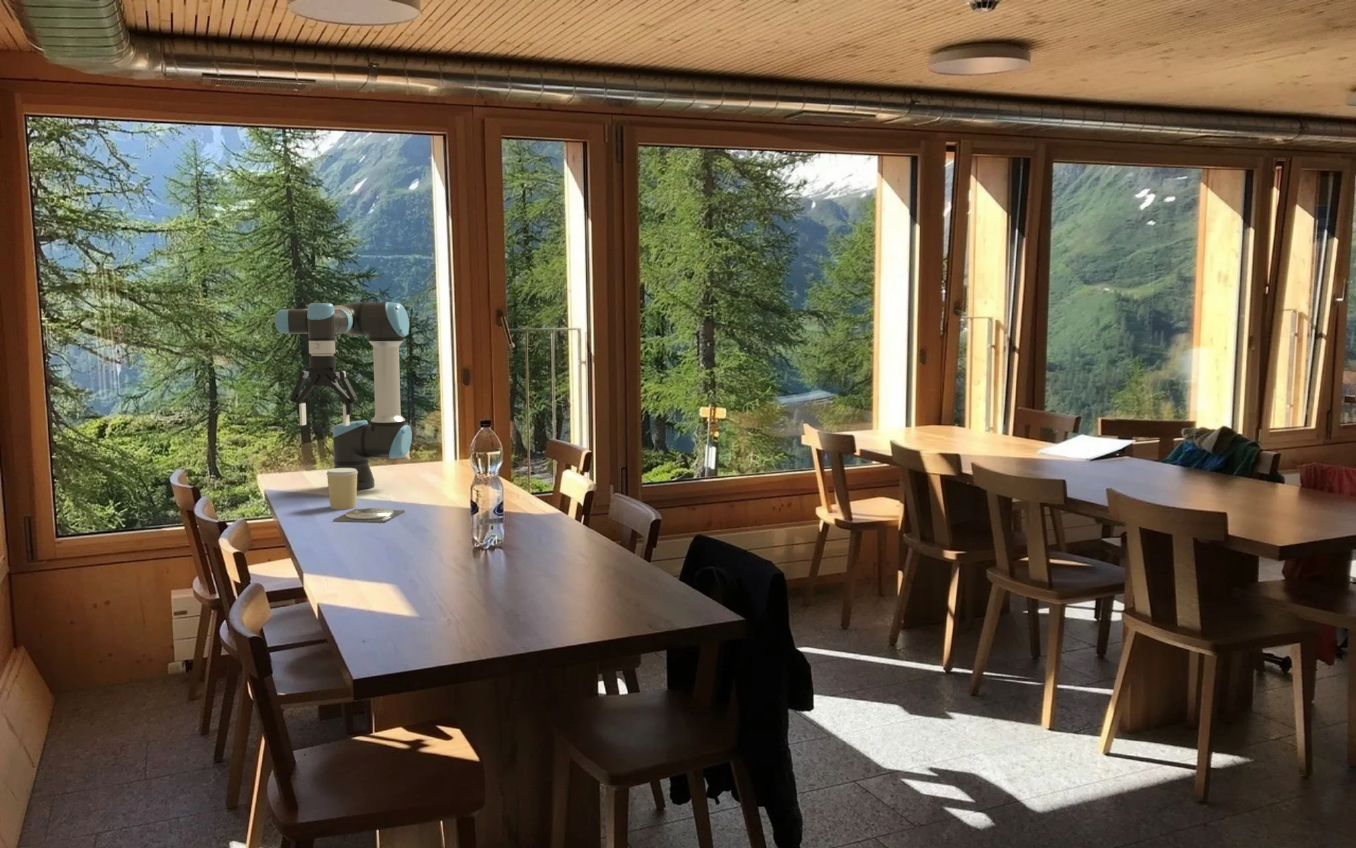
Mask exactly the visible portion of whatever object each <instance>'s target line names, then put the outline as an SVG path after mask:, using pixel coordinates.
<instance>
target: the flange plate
mask: <svg viewBox="0 0 1356 848" xmlns="http://www.w3.org/2000/svg"><path fill="white" fill-rule="evenodd" d="M405 511H406V510H403V509H399V510H398V509H390V508H383V507H381V508H380V507H371V508H370V507H369V508H367V507H366V508H358V509H357V508H355V509H354V508H353V510H350V511H347V512H345V513H344V514H342V515H339V516H337V517H336V518H334V519H332V522H346V523H347V522H348V523H349V522H351V523H379V524H381V523H384V524H385V523H387V522H389V521H391V520H392V519H394V518H396V517H398V516H400V515H402V514H404V513H405Z"/></svg>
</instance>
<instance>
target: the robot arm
mask: <svg viewBox="0 0 1356 848" xmlns="http://www.w3.org/2000/svg"><path fill="white" fill-rule="evenodd" d="M274 326H275V328H276V330H277V332H278V333H280V334H283V335H285V334H287V335H300V334H301V335H303V334H304V335H305V334H306V335H307V334H308V353H309V354H310V356H309V357H308V362H309V364H308V365H309V371H307V370H300V371H299V373H298V379H297V382H296V384H295V387H294V388H293V391H292V393H291V395H290V397H289V401H290V402H293V403H295V405H296V414H297V415H299V426H301V427H302V426H306V425H307V404H306V402H305V400H306V399H307V397H308V396H309V395H310V393H312V391H313V390H314V389H315V388H316V386H317V387H322V386H323V387H330V388H332V389H333V390H334V391H335V393H336V394H337V395H338V396H339V397H340V399H341V400H342V401H343V403H344V404H342V417H343V419H342V422H341V423H338V424H335V425H334V426H333V428H332V430H333V431H332V432H333V433H332V443H333V445H332V447H333V469H335V468H355V469H356V470H357V471H358V473H357V491H361V490H368V489H371V488H375V484H376V483H375V478H374V476H373V473H372V470H371V467H370V463H369V462H370V461H369V459H390V460H392V459H402V458H404V457H406V455H408V453H409V451H410V449H411V446H412V445H411V444H412V441H413V440H412V439H413V432H412V428H411V426H410V425H408V424H406V419H405V417H403V416H402V411H401V383H400V382H401V378H400V377H401V375H400V374H401V373H400V372H401V371H400V346H401V344H402V343H404V338H405V337H406V336H408V334H409V331H410V320H409V316H408V312H407V310H406V308H405V306H403V305H402V304H401V303H399V302H391V301H384V302H382V301H381V302H379V301H377V302H374V301H373V302H372V301H371V302H364V301H362V302H361V301H359V302H357V301H356V302H351V303H345V304H337V305H333V303H331V302H329V303H324V302H322V303H320V302H319V303H318V302H317V303H316V302H314V303H313V302H311V303H309V304H308V306H307V308H299V309H289V308H288V309H287V308H286V309H279V310H277V312H276V314H275V317H274ZM342 334H344V335H351V336H359V337H368V338H367V339H368V343H369V344H370V345H371V346H372V351H373V353H372V355H373V379H374V380H373V381H374V382H373V383H374V385H373V387H374V417H373V418H371V419H370V424H369V422H368V420H366V419H365V420H364V419H363V420H353V421H350V416H351V415H353V403H356V402H358V400H359V398H358V396H357V394H356V392H355V391H354V389H353V387H352V385H351V383H350V380H349V379H348V374H347V371H346V370H342V371H337V363H336V362H337V361H336V357H337V356H335V355H334V354H336V353H337V352H336V335H342ZM308 377H309V379H311V380H310V381H309V382H308V384H307V386H306V387H305V388H304V385H305V384H306V380H307V379H308ZM336 378H338V379H339V380H340V382H341V384H342V386H343V388H344V390H343V388H342V387H341V386H340V384H339V383H338V381H337V380H336ZM303 388H304V389H303ZM302 390H303V391H302Z"/></svg>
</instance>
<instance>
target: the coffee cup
mask: <svg viewBox="0 0 1356 848" xmlns="http://www.w3.org/2000/svg"><path fill="white" fill-rule="evenodd" d="M357 473H358V471H357V470H356V469H355V468H335V469H334V468H331V469H328V470H327V472H326V476H327V486H328V487H327V488H328V494H329V497H328V498H329V505H330V509H333V510H340V511H341V510H351V509H354V508H355V509H356V507H357V492H358V490H357Z"/></svg>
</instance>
